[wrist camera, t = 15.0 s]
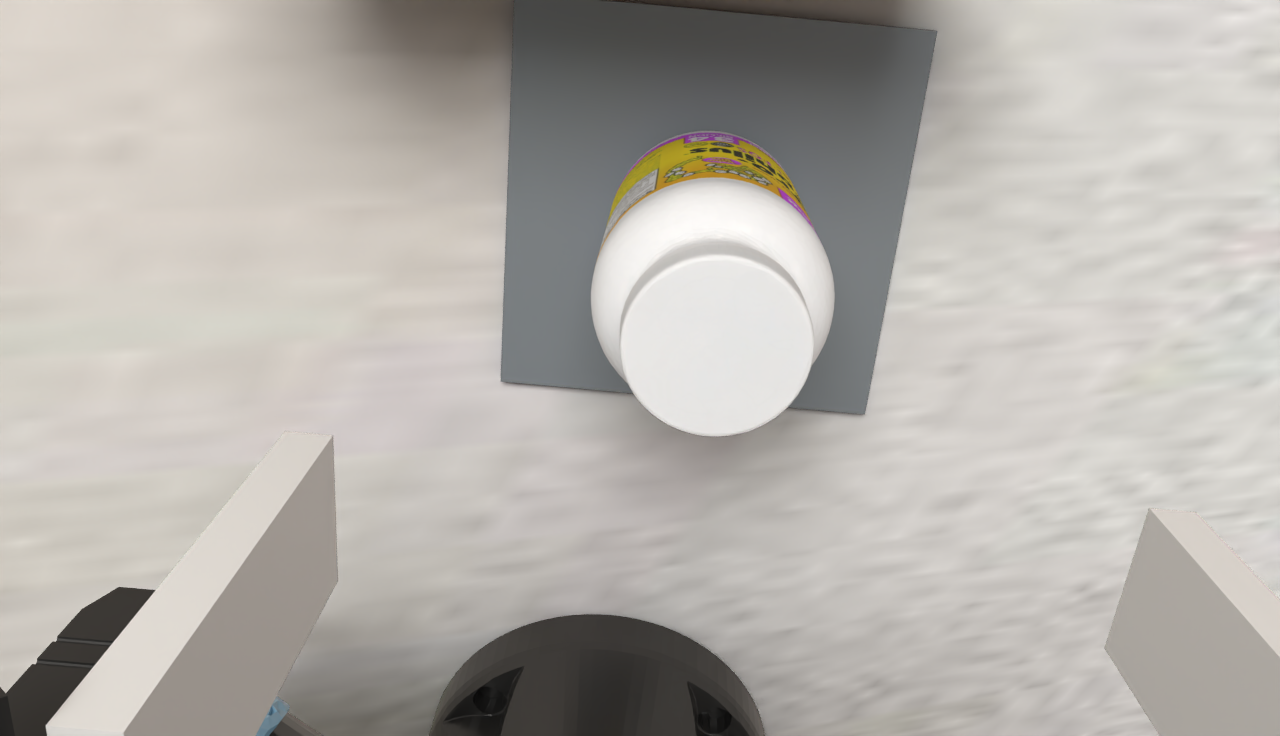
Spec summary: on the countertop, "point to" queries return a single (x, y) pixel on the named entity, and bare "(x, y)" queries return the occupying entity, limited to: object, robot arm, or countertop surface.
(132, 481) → the countertop surface
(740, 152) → the supplement bottle
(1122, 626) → the robot arm
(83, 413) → the countertop surface
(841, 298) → the slate mat
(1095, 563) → the countertop surface
